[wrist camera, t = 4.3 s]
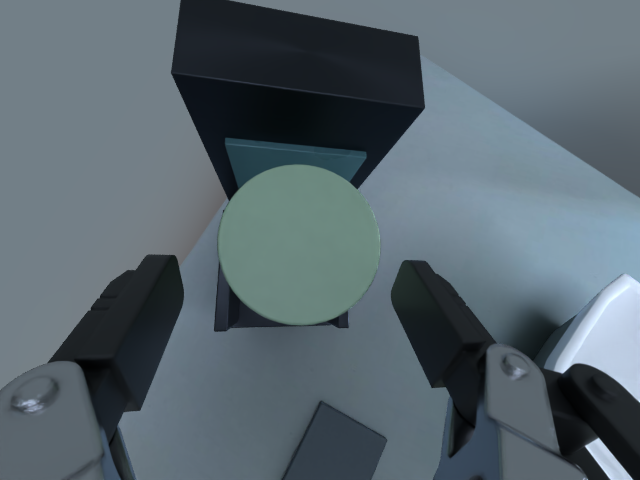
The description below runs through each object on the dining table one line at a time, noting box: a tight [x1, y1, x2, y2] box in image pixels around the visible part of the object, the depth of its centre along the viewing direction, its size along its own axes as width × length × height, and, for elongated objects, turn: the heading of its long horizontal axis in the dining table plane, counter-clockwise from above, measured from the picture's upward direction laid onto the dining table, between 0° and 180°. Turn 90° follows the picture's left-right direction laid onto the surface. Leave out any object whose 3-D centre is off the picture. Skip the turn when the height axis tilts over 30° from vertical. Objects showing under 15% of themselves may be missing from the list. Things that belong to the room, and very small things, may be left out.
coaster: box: [282, 401, 387, 480], centre depth 29 cm, size 9×9×1 cm
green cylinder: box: [217, 164, 381, 326], centre depth 16 cm, size 5×5×16 cm
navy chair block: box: [171, 0, 425, 332], centre depth 20 cm, size 12×9×26 cm
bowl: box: [533, 274, 640, 480], centre depth 33 cm, size 22×23×8 cm
